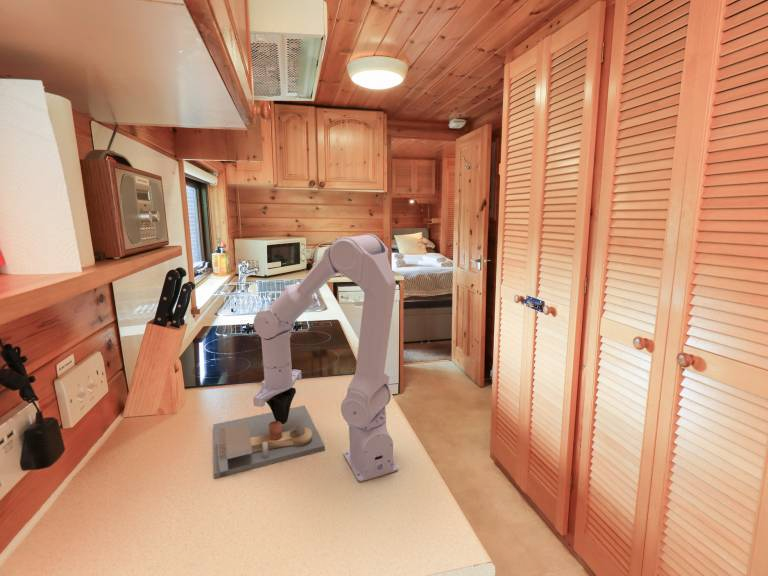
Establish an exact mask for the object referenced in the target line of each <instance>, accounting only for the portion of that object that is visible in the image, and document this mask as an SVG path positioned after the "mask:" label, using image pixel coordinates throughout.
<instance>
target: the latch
mask: <svg viewBox="0 0 768 576" xmlns="http://www.w3.org/2000/svg"><path fill="white" fill-rule="evenodd" d="M269 432H270V435H264V436H258V437H252V438H250V440H251V445H252V452H256V451H262V450H263V447H262V443H263V442H265V441H266V442H267V443H268V449H273V448H279V447H284V446H290V445H295V446H302V445H306V444H308V443H309V442H311V440H312V431H311V429H309V428H306V427H305V426H303V425H299V426H297V427H296V429H294V430H292V431H287V432H282V430H281V422H280V421H273V422H271V423H270V424H269Z"/></svg>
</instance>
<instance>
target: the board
mask: <svg viewBox="0 0 768 576" xmlns="http://www.w3.org/2000/svg"><path fill="white" fill-rule="evenodd" d="M273 421H276V420H275V418H274V415H273V413H272V411H271V412H266V413H262V414H257V415H253V416H247V417H243V418H237V419H233V420H229V421H224V422H218V423H213V427H212V428H213V429H212V431H213V434H212V435H213V436H212V437H213V478H214V479H219V478H221V477H226V476H229V475H234V474H237V473H242V472H245V471H250V470H253V469H257V468H261V467H265V466H268V465H271V464H272V465H273V464H275V463H276V464H277V463H281V462H283V461H288V460H291V459H296V458H300V457H303V456H307V455H312V454H316V453H318V452H322V451H325V449H326V448H325V444H324V442H323V439H322V437H321V436H320V434H319V431H318V430H317V427H316V426H315V424H314V422H313V419H312V418H311V415H310V414H309V411H308V410H307V408H306V406H305V405H300V406H295V407H290V410H289V416H288V420H287V422H286V423H285V424H281V430H282V432H287V431H292V430H294V429H296V427H297V426H299V425H303V426H305V427H306V428H309V429H311V431H312V440H311V442H309V443H308V444H306V445H302V446H295V445H290V446H284V447H279V448H273V449H268V443H267V442H266V441H265V442H263V443H262V447H263V450H262V451H256V452H252V453H250V454H246V455H242V456H238V457H234V458H230V459H228V471H223V474H225V473H226V474H225V475H226V476H225V475H222V472H220V470H219V461H218V439H217V430H218V429H223V428H227V427H232V426H237V425H241V424H246V423H248V428H249V434H250V438H252V437H258V436H264V435H270V432H269V424H270V423H271V422H273ZM224 472H225V473H224ZM227 472H228V473H227Z"/></svg>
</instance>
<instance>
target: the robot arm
mask: <svg viewBox="0 0 768 576" xmlns="http://www.w3.org/2000/svg"><path fill="white" fill-rule="evenodd" d="M388 255H389V248H388V246H386V244H384V242H383V241H382V240H381V239H380V238H379V237H378V236H376V235H375V234H372V233H364V234H362V235H356V236H341V237H338V238H337V239H335V240H334V241H333V242H332V244H331V245H330V246H328V247H327V248H326V249H325V250H324V252H323V254H322V256H321V257H319V259H318V261H317V262H316V263H315V264H314V265H313V267H312V268H311V269H310V270H309V271H308V273H307V274H306V275H305V276H304V277H303V279H302V280H301V281H300V282H299V284H298V283H292V284H288V285H285V286H283V287H282V288H281V291H282V293H281V294H280V295H279V296H278V297H277V298H276V299H275V300H272V301H271V302H269V307H268V308H267V309H263V310H259V311H258V312H257V313H256V315H255V317H254V318H253V328H254V330H255V333H256V335H258V336H259V337H260V339H261V350H262V351H261V352H262V353H263V354H262V353H261V354H262V365H264V367H263V377H264V378H265V379H263V380H262V381H261V388H260V389H259V390H258V392H257V393H256V394H255V395H253V397H252V401H253V406H255V407H259V408H263V407H265V405H266V404H267V405H268V407H269V408H270V410H271V412H272V413H273V415H274V418H275V420H276V421H280V422H281V424H285V423H286V422H287V420H288V416H289V410H290V408H291V405H292V402H293V399H294V397H295V395H296V394H297V389H296V388H295V387H294V385H295V383H296V382H297V381H300V380H302V378H303V377H302V370H299V369H292V367H293V366H292V353H291V352H292V351H291V338H292V330H293V328H294V327H295V323H296V321H297V320H298V319H299V317H300V316H301V315H302V314H303V313H305V312H306V310H308V309H309V308H310V307H311V306H312V304H313V303H312V302H313V297H312V296H313V295H314V294H315V293H316V292H318V291H319V289H321V288H322V287H323V286H324V285H325V284H327V282H329V281H330V280H331V279H332V278H333V277H334V276H335V275H336V274H339V273H340V274H341V275H343V276H345V278H347V279H349V280H350V281H352V282H353V283H354V284H356V285H357V286H359V288H360V289H361V290H362V292H363V293H364V295H363V304H362V313H361V322H360V330H359V339H358V347H357V348H358V349H357V355H356V365H355V374H354V376H353V377H352V379H351V381H350V383H349V384H348V387H347V393H346V396H345V397H344V399H343V400H342V402H341V405H340V411H341V415H342V417H343V419H344V421H345V422H346V423H347V425H348V437H349V450H345V451H344V452H343V456H344V457H345V460H346V461H347V463H348V465H349V467H350V469H351V471H352V472H353V474H354V476H355V479H356V480H357V481H358V482H360V483H361V482H363V481H368V480H371V479H374V478H377V477H381V476H384V475H387V474H390V473H391V474H392V473H394V472H397V471H398V470H399V467H398V465H397V464H396V463H395V462H394V441H393V438H392V437H391V435H390V434H389V431H388V429H387V413H386V412H387V411H386V406H387V405H388V404H389V403H390V401H391V399H392V392H391V389H390V385H389V379H390V377H389V375H388V374H386V373H385V368H386V363H387V362H386V360H387V354H388V348H389V347H388V345H389V340H390V339H389V338H390V332H391V324H392V318H393V309H394V304H395V303H394V301H395V293H396V287H397V285H396V279H395V276H394V273H393V269H392V266H391V264H390V261H389V257H388Z"/></svg>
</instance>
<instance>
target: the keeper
mask: <svg viewBox="0 0 768 576" xmlns="http://www.w3.org/2000/svg"><path fill="white" fill-rule="evenodd" d="M217 439H218V461H219V470H220V472H222V475H225V474H226V473H225V472H224V473H225V474H223V471H228V459H230V458H234V457H238V456H242V455H246V454H250V453H252V445H251V440H250V434H249V428H248V423H246V424H241V425H237V426H232V427H227V428H223V429H218V430H217ZM227 473H228V472H227ZM224 477H227V475H225V476H224Z"/></svg>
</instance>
